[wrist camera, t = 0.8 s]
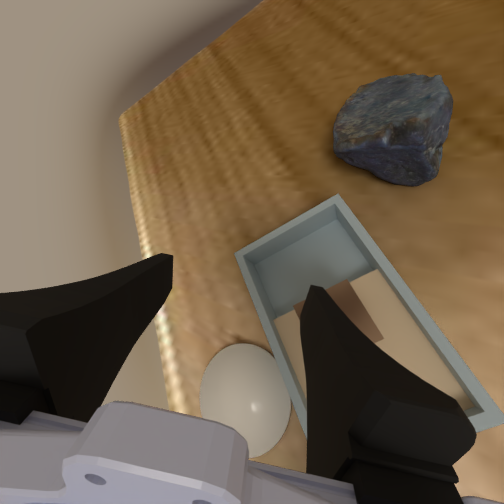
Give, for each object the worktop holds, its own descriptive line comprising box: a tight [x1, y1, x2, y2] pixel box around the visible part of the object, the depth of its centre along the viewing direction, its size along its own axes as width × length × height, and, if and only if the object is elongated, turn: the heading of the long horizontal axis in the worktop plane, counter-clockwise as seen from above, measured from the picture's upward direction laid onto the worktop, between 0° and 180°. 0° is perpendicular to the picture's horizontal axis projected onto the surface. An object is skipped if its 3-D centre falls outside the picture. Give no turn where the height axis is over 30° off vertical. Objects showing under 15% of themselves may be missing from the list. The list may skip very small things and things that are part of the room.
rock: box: [333, 73, 453, 186], centre depth 26 cm, size 16×8×10 cm
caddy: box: [234, 194, 504, 439], centre depth 22 cm, size 20×12×4 cm, turn 23°
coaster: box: [200, 343, 292, 458], centre depth 25 cm, size 10×10×1 cm
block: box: [293, 279, 384, 343], centre depth 19 cm, size 4×4×5 cm
